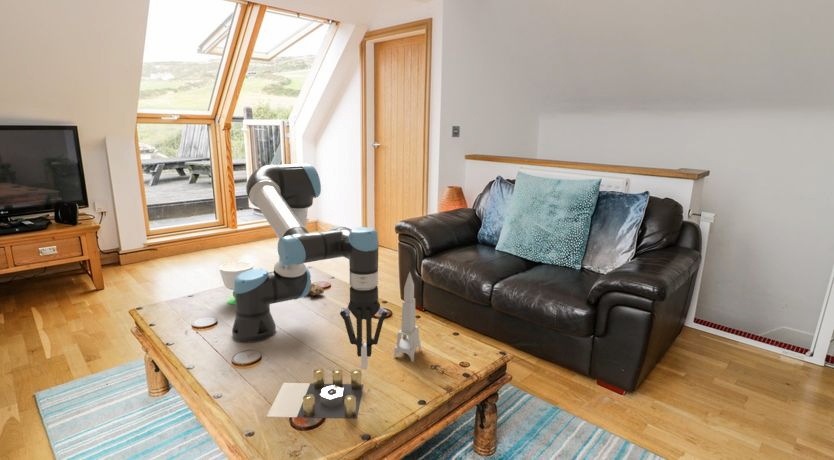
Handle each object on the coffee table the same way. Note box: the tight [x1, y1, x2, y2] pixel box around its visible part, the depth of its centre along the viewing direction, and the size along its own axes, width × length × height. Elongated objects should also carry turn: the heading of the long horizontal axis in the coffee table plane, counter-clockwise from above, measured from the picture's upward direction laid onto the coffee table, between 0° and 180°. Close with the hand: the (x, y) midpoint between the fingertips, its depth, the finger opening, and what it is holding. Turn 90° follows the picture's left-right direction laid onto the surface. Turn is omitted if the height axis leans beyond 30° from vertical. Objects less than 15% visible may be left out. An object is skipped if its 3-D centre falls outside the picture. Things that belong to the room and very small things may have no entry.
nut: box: [320, 385, 344, 407], centre depth 128 cm, size 7×6×3 cm
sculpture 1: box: [306, 282, 325, 296], centre depth 205 cm, size 8×19×5 cm, turn 71°
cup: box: [218, 260, 254, 306], centre depth 195 cm, size 14×14×16 cm
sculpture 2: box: [393, 271, 422, 363], centre depth 152 cm, size 7×8×30 cm
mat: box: [266, 382, 364, 419], centre depth 128 cm, size 24×16×1 cm, turn 90°
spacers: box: [303, 368, 362, 419], centre depth 128 cm, size 14×16×5 cm
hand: (364, 366), depth 126 cm, fingers closed
